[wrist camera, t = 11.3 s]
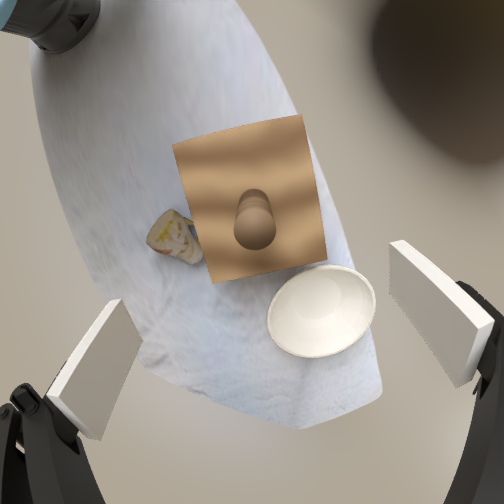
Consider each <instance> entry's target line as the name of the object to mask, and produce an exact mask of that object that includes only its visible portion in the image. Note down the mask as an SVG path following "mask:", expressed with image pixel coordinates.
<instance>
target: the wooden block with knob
mask: <svg viewBox="0 0 504 504" xmlns="http://www.w3.org/2000/svg"><path fill="white" fill-rule="evenodd" d="M172 147H173V151H174V155H175V159H176V162H177V166H178V170H179V174H180V177H181V181H182V184H183V188H184V192H185V195H186V199H187V202H188V205H189V209H190V212H191V216H192V219H193V222H194V226H195V229H196V232H197V236H198V239H199V242H200V245H201V249H202V252H203V255H204V258H205V261H206V264H207V268H208V271H209V274H210V277H211V280H212V283H213V284H214V283H219V282H224V281H229V280H234V279H239V278H244V277H249V276H254V275H259V274H264V273H268V272H273V271H278V270H283V269H288V268H292V267H297V266H302V265H306V264H311V263H315V262H320V261H324V260H327V252H326V244H325V237H324V230H323V223H322V217H321V210H320V204H319V198H318V192H317V186H316V181H315V175H314V170H313V165H312V160H311V155H310V150H309V145H308V140H307V135H306V131H305V126H304V122H303V118H302V115H294V116H288V117H283V118H277V119H272V120H267V121H262V122H257V123H252V124H248V125H243V126H239V127H235V128H231V129H227V130H223V131H219V132H215V133H211V134H207V135H204V136H200V137H197V138H193V139H190V140H186V141H183V142H180V143H177V144H173V145H172Z"/></svg>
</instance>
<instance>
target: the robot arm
mask: <svg viewBox="0 0 504 504" xmlns="http://www.w3.org/2000/svg"><path fill="white" fill-rule="evenodd" d="M99 9H100V1H99V0H0V31H3V32H8V33H12V34H16V35H20V36H24V37H28V38H30V39H31V40H32V41H33V42H34V43H35V44H36V45H37V46H38V47H39V48H40V49H41V50H42V51H44V52H47V53H51V54H58V53H62V52H64V51H67V50H68V49H70V48H72V47H73V46H74V45H76V44H77V43H78V42H79V41H80V40H81V39H82V38H83V37H84V36H85V35H86V34H87V33H88V32H89V30H90V29H91V27H92V26H93V24H94V22H95V21H96V19H97V16H98V13H99ZM389 247H390V289H389V290H390V291H389V292H390V295H391V296H392V297H393V299H394V300H395V301H396V302H397V304H398V305H399V306H400V308H401V309H402V310H403V312H404V313H405V314H406V316H407V317H408V318H409V320H410V321H411V323H412V324H413V325H414V327H415V328H416V329H417V331H418V332H419V333H420V335H421V336H422V338H423V339H424V341H425V342H426V343H427V345H428V346H429V348H430V349H431V351H432V352H433V354H434V355H435V357H436V358H437V360H438V361H439V362H440V364H441V366H442V367H443V369H444V370H445V372H446V373H447V375H448V376H449V378H450V380H451V381H452V383H453V384H454V386H455V388H458V387H460V386H462V385H464V384H466V383H467V382H469V381H471V380H472V379H473V376H474V374H475V372H476V370H477V369H478V371H479V372H480V374H481V377H480V379H479V381H478V383H477V385H476V387H475V389H474V391H473V394H474V395H475V393H476V391H477V396H476V402H475V407H474V411H473V417H472V421H471V425H470V429H469V433H468V437H467V440H466V444H465V447H464V451H463V454H462V457H461V460H460V463H459V466H458V469H457V472H456V474H455V477H454V480H453V482H452V485H451V487H450V490H449V492H448V494H447V497H446V499H445V501H444V503H443V504H504V317H503V315H502V314H501V313H500V312H499V311H497V310H496V309H495V308H494V307H493V306H492V305H491V304H490V303H489V302H488V301H487V300H486V299H485V300H484V298H483V297H482V296H481V295H480V294H478V292H477V291H476V290H474V288H472V287H471V286H470V285H468V284H466V283H464V282H461V281H458V282H454V281H453V280H452V279H451V278H449V277H448V276H447V275H446V274H445V273H444V272H442V271H441V270H440V269H439V268H438V267H436V266H435V265H434V264H433V263H432V262H431V261H429V260H428V259H427V258H426V257H424V256H423V255H422V254H421V253H419V252H418V251H417V250H416V249H414V248H413V247H412V246H411V245H409V244H408V243H407V242H406V241H404V240H399V241H396V242H391V243H389ZM142 342H143V340H142V338H141V336H140V334H139V332H138V331H137V329H136V327H135V325H134V323H133V321H132V319H131V317H130V315H129V313H128V311H127V309H126V307H125V305H124V303H123V301H122V299H116V300H110V301H109V302H108V304H107V305H106V306H105V308H104V309H103V311H102V312H101V313H100V315H99V316H98V317H97V319H96V320H95V321H94V323H93V324H92V326H91V327H90V329H89V330H88V331H87V333H86V334H85V336H84V337H83V339H82V340H81V341H80V343H79V344H78V346H77V347H76V349H75V350H74V352H73V353H72V355H71V356H70V358H69V359H68V360H67V361H66V362H65V364H64V365H63V367H62V368H61V371H59V373H58V374H57V378H55V379H54V381H53V382H52V384H51V386H50V387H49V389H48V391H47V392H46V394H45V396H44V397H43V399H42V398H41V397H40V396H39V395H38V394H37V392H36V391H35V390H34V389H33V387H31V385H30V384H28V383H24V384H21V385H19V386H18V387H17V388H16V389H15V390H14V391H13V392H12V394H11V396H10V401H11V402H12V403H13V404H14V405H15V407H16V408H17V409H18V410H19V411H17V410H16V408H15V407H14V406H13V405H12V404H10V403H6V404H4V405H2V407H0V504H106V503H105V501H104V499H103V497H102V495H101V492H100V490H99V488H98V485H97V483H96V480H95V478H94V475H93V473H92V470H91V467H90V465H89V462H88V459H87V456H86V453H85V450H84V447H83V444H82V441H81V439H80V438H79V437H78V436H77V433H78V431H80V432H81V433H83V434H84V435H85V436H86V437H87V438H89V439H94V440H99V441H101V439H102V436H103V434H104V431H105V428H106V426H107V423H108V421H109V418H110V416H111V413H112V411H113V408H114V406H115V403H116V401H117V398H118V396H119V394H120V391H121V389H122V387H123V384H124V382H125V380H126V377H127V375H128V373H129V370H130V368H131V366H132V364H133V361H134V359H135V357H136V355H137V353H138V350H139V348H140V346H141V344H142ZM16 442H18V444H20V445H21V446H22V447H23V448H24V449H25V454H24V453H22V452H21V451H20V450H18V449H17V448H16Z"/></svg>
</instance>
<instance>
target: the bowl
mask: <svg viewBox="0 0 504 504" xmlns="http://www.w3.org/2000/svg"><path fill="white" fill-rule="evenodd" d="M375 309H376V299H375V294H374V291H373V288H372V286H371V285H370V283H369V282H368V280H367V279H366V278H365V277H363V276H362V275H361V274H360V273H358V272H356V271H355V270H353V269H351V268H348V267H344V266H340V265H329V264H326V265H318V266H314V267H311V268H307V269H305V270H303V271H301V272H299V273H297V274H295V275H294V276H292V277H291V278H290V279H288V280H287V281H286V282H285V283H284V284H283V285H282V286H281V287H280V288H279V290H278V291H277V292H276V294H275V296H274V297H273V299H272V301H271V304H270V307H269V310H268V316H267V325H268V330H269V333H270V335H271V337H272V339H273V340H274V342H275V343H276V344H277V345H278V346H279V347H280V348H282V349H283V350H284V351H286V352H288V353H290V354H293V355H296V356H299V357H305V358H320V357H326V356H330V355H333V354H336V353H339V352H341V351H343V350H345V349H347V348H348V347H350V346H351V345H353V344H354V343H355V342H356V341H358V340H359V339H360V338H361V337H362V336H363V334H364V333H365V332H366V331H367V329H368V328H369V326H370V324H371V322H372V320H373V317H374V314H375Z"/></svg>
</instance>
